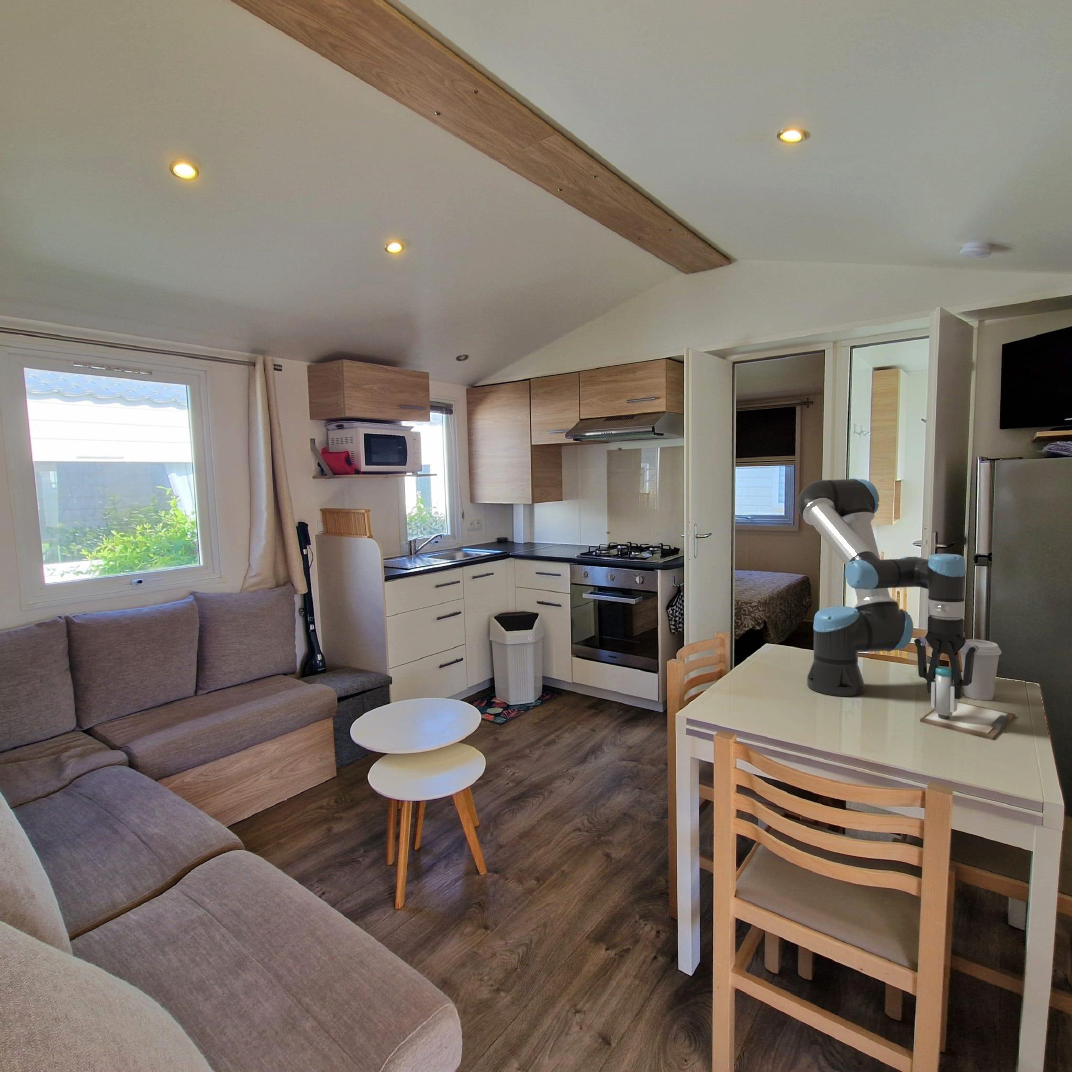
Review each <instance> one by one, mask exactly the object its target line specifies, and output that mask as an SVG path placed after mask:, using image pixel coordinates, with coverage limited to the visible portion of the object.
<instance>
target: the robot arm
mask: <svg viewBox="0 0 1072 1072" xmlns="http://www.w3.org/2000/svg"><path fill="white" fill-rule="evenodd" d="M879 502H880V495H879V493H878V490H877V488H876V486H875V485H874V484H873V483H872V482H871V481H870V480H867V479H864V478H845V479H843V478H841V479H827V480H826V479H820V480H819V479H818V480H815V481H812V482H810V483H809V484H807V485H806V486H805V487H804V488H803V489H802V490H801V491H800V493H799V495H798V498H797V510H798V514H799V515H800V517H801V518H802V520H803V521H804V522H805V523H806V524H808V525H810V526H813V527H814V528H815V529H816V532H817V533H819V534H820V536H821V537H822V539H824V541H825V542H826V543H827V544H828V546H829V547H830V549H832V550H833V551H834V554H836V555H837V557H838V558H839V559H840V560H841V561H842V562H843V564H844V565H845V571H844V576H845V579H846V583H847V584H848V585H849V587H851V588H852V589H854V591H855V594H856V599H857V603H856V604H855V605H854V607H853V606H845V605H844V606H840V605H839V606H831V607H830V606H829V607H825V608H821V609H819V610H818V611H816V612H815V615H814V619H813V626H812V627H813V661H812V663H811V665H810V669H809V671H808V673H807V677H806V685H807V687H808V688H809V689H810V690H812V691H814V692H817V693H821V694H824V695H827V696H828V695H829V696H836V697H837V696H838V697H852V696H853V697H856V696H860V695H862V694H864V692H865V680H864V677H863V675H862V672H861V670H860V667H859V653H869V652H871V653H872V652H873V653H874V652H893V651H899V650H904V649H905V648H907V647H908V645H910V643H911V642H912V641H911V640H912V639H913V635H914V621H913V619H912V618H913V617H911V614H910V613H909V612H908V611H907V610H903V609H901V608H900V606H899V603H898V601H897V600H895V599H894V598H892V597H891V595H890V591H889V589H895V588H897V589H899V588H922V589H926V590H927V591H928V593H927V594H928V595H927V614H928V615H929V616H928V617H927V633H926V635H925V636H923V637H921V636H920V637H917V638H915V639H914V640H913V642H914V645H915V647H916V654H917V656H916V657H917V668H918V669H917V670H918V677H920V678H922V679H924V680H926V692H927V694H930V708H932V709H935V699H936V673H935V668H936V667H937V666H939V663H940V659H941V655H942V654H945V655H946V656H947V655H948V660H949V663H950V668H951V670H952V675H953V685H952V686H951V688H950V712H953V713H954V712H955V711H956V710H957V701H958V700H961V699H962V697H963V686H968V685H969V684H971V683H972V675H973V665H974V655H975V653H976V652H977V650H978V647H977V646H975V645H974V646H972V645H971V644H969V643H967V642H966V640H967V639H966V638H965V619H964V618H963V617H965V597H966V596H965V594H966V592H965V591H966V575H967V570H966V560H965V557H964V556H963V555H960V554H955V553H954V554H953V553H934V554H931V555H929V557H928V559H927V558H922V557H919V556H904V557H901V558H894V559H893V558H889V559H881V557H880V552H879V549H878V546H877V542H876V538H875V534H874V529H873V526H872V521H873V519H874V518H875V517H876V515H875V514H876V512H877V511H878V509H879V507H880V504H879ZM927 643H928V644H929V646H930V647H931V649H932V650H931V657H930V662H929V664H928V663H927V662H928V661H927V649H926V648H927V647H926V646H927ZM962 647H964V648H965V652H966V653H967V654H966V657H965V666H964V676H963V674H962V670H961V669H962V668H961V665H960V659H959V656H960V655H959V654H960V653H959V651H961V650H960V649H961V648H962Z"/></svg>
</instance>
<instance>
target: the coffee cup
mask: <svg viewBox="0 0 1072 1072" xmlns="http://www.w3.org/2000/svg"><path fill="white" fill-rule="evenodd" d="M965 640H966V642H967V643H969V644H971V645H972V646H974V645H975V646H977V647H978V650H977V652H976V653H975V655H974V665H973V675H972V683H971V684H969V685H968V686H962V689H963V695H964V696H965V697H967V698H969V699H972V700H978V701H991V700H992V701H993V698H994V692H995V687H996V686H995V685H996V679H997V678H996V677H997V672H998V664H999V658H1000V655H1001V654H1002V650H1001V648H1000V647H999V645H998V644H997V642H993V641H989V640H983V639H975V638H974V639H965ZM959 651H960V657H961V669H962V670H961V674H962V677H963V676H964V666H965V657H966V654H967V653H966V652H965V648H964V647H962V648H961V649H960V650H959Z"/></svg>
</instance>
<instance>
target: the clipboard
mask: <svg viewBox="0 0 1072 1072" xmlns="http://www.w3.org/2000/svg"><path fill="white" fill-rule="evenodd" d="M1016 717H1017V716H1016V713H1012V712H1007V711H1004V710H1003V711H1002V710H998V709H994V708H989V707H984V706H980V705H975V704H971V703H966V702H962V701H958V700H957V710H956V711H955V712H954V713H953V714H952V715H950V718H949V719H941V718H939V717H938V714H937V713H936V712H935V708H932V709H931V710H930V711H929V712H928V713H926V714H925V715H924V716H922V717H921V718H920V719H919V722H921V723H924V724H928V725H931V726H937V727H940V728H945V729H949V730H952V731H956V732H960V733H964V734H967V735H972V736H975V737H979V738H983V739H988V740H991V741H992V740H994V739H995V738H996V737H997V736H998V734H1000V733H1001V732H1002V730H1004V729H1005V727H1006V726H1008V725H1009V723H1011V721H1012V720H1014V719H1015V718H1016Z"/></svg>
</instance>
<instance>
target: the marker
mask: <svg viewBox="0 0 1072 1072" xmlns="http://www.w3.org/2000/svg"><path fill="white" fill-rule="evenodd" d="M935 673H936V676H935V677H936V678H935V680H936V699H935V708H934V709H935V712H936V713H937V714H938V717H939V718H941V719H949V718H950V715H952V714H953V712H950V688H951V686H952V685H953V684H954V681H953V675H952V670H951V666H945V665H944V666H943V665H942V666H941V665H938V666H937V667H936V668H935Z"/></svg>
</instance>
